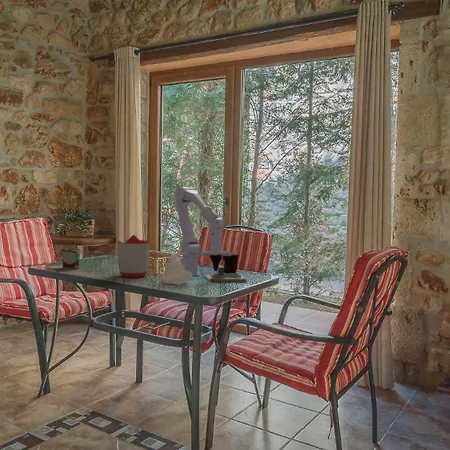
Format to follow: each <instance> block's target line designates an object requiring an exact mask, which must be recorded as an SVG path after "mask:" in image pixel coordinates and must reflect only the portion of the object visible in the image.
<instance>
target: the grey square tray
mask: <svg viewBox="0 0 450 450" xmlns="http://www.w3.org/2000/svg"><path fill="white" fill-rule="evenodd" d="M208 274H209V273H205V274H204V276H205V275H208ZM211 282H212V283H247V281H246V279H212V281H211Z"/></svg>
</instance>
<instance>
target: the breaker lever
mask: <svg viewBox="0 0 450 450" xmlns="http://www.w3.org/2000/svg"><path fill="white" fill-rule="evenodd" d="M217 273H218V274H217ZM217 273H215V274H216V275H225V274H224V266H223V265H219V266H218V270H217Z"/></svg>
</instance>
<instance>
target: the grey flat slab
mask: <svg viewBox="0 0 450 450" xmlns="http://www.w3.org/2000/svg"><path fill="white" fill-rule="evenodd" d="M207 274H208V275H205V274H204V278H205V279H207V281H208V282H212V279H246V282H247V277H245V275H242V274H241V273H238V272H236V273H224V274H225V275H216V274H218V272H217V273H207Z"/></svg>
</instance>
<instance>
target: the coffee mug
mask: <svg viewBox="0 0 450 450" xmlns="http://www.w3.org/2000/svg"><path fill="white" fill-rule="evenodd" d="M239 257H240V256H239V253H237V252H231V256H222V264H223V265H222V266H224V273H237V271H238V262H239Z"/></svg>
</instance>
